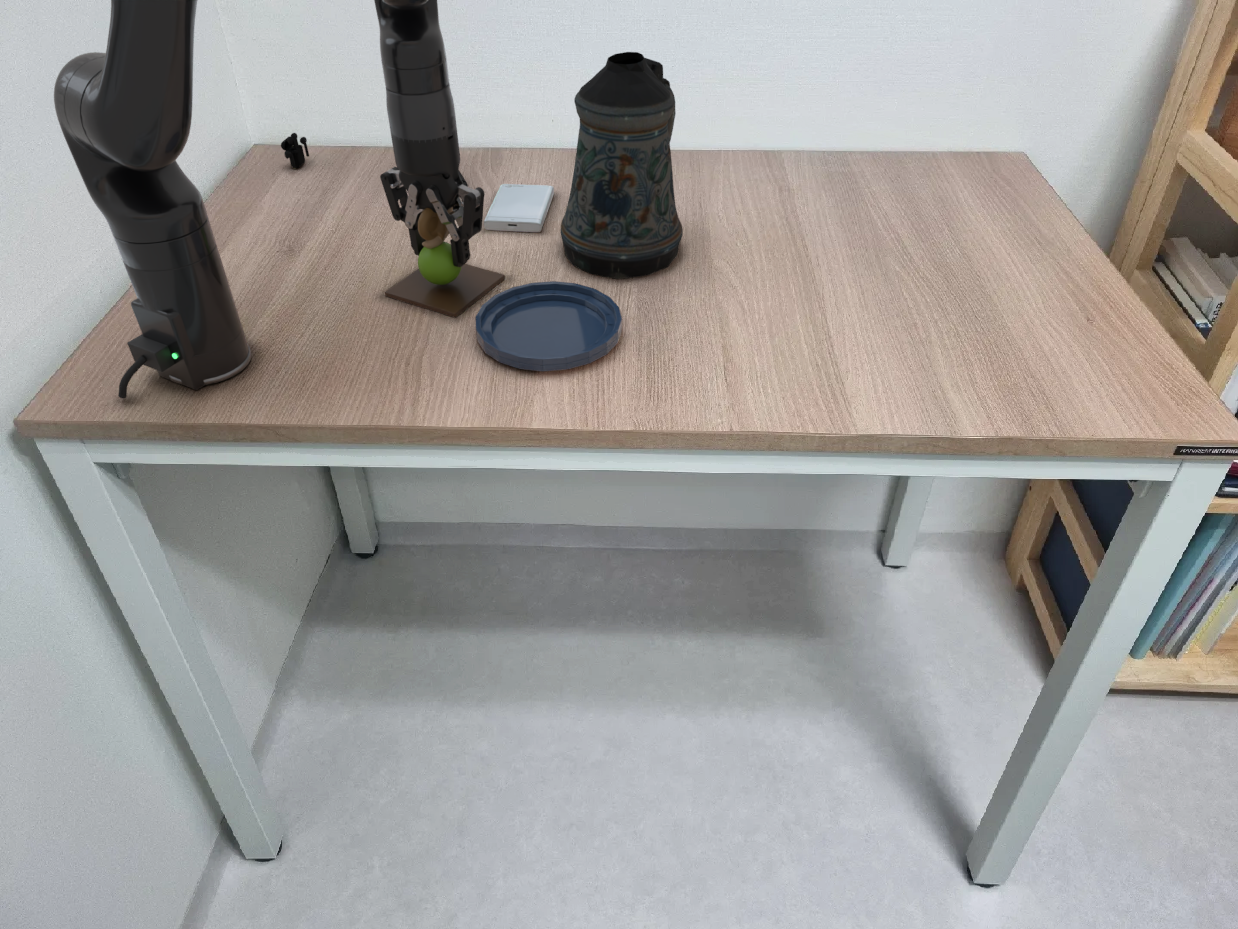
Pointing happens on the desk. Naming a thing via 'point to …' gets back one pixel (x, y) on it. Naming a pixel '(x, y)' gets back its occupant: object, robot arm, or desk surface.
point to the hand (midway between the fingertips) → (441, 258)
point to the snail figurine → (435, 250)
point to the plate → (548, 326)
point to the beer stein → (623, 173)
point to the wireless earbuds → (295, 150)
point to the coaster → (446, 290)
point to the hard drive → (519, 208)
